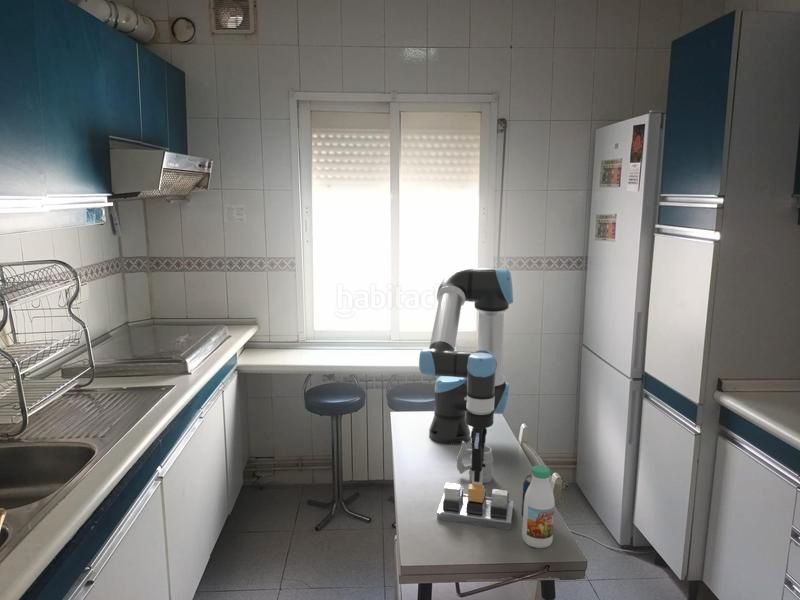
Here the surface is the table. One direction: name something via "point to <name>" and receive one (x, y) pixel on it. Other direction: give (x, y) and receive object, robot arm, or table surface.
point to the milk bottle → (539, 509)
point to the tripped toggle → (475, 493)
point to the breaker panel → (476, 520)
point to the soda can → (525, 489)
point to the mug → (460, 466)
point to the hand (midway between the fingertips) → (476, 490)
